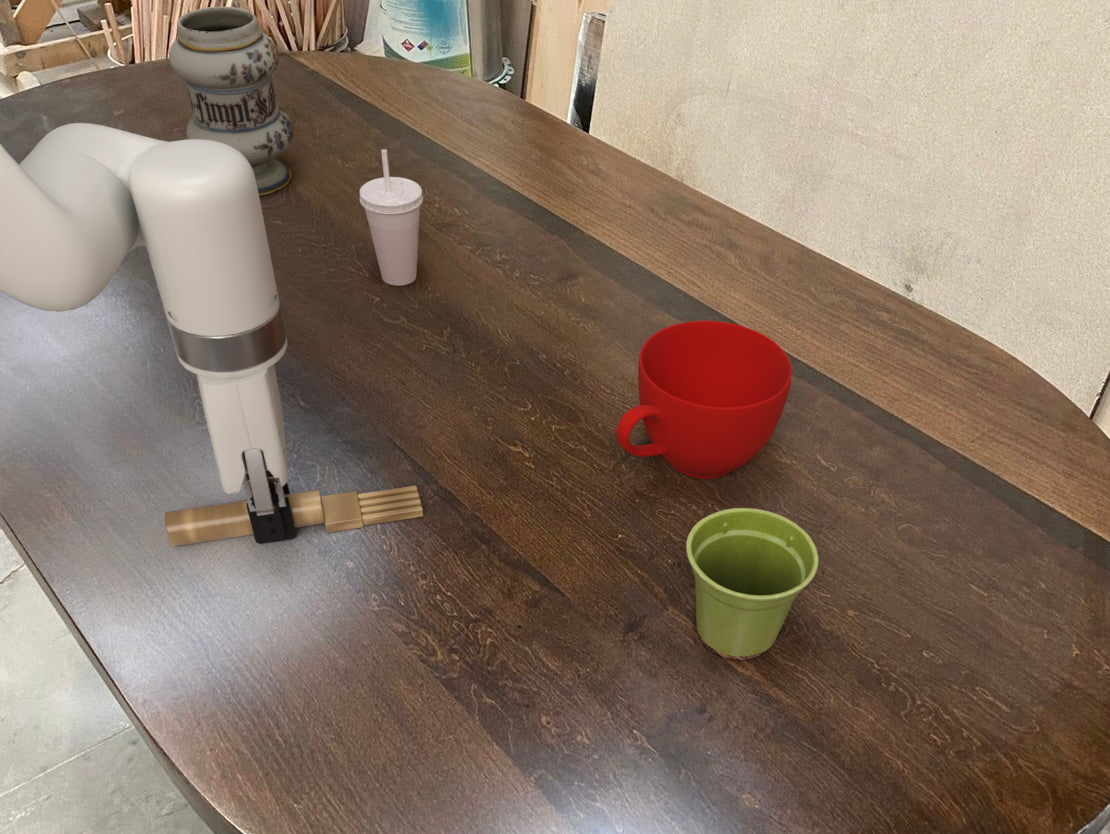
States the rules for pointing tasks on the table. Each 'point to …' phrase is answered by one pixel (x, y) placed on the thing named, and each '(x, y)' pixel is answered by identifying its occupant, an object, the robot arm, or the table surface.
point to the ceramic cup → (707, 396)
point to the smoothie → (393, 224)
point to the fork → (295, 514)
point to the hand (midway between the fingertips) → (274, 523)
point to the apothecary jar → (234, 88)
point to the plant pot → (747, 576)
